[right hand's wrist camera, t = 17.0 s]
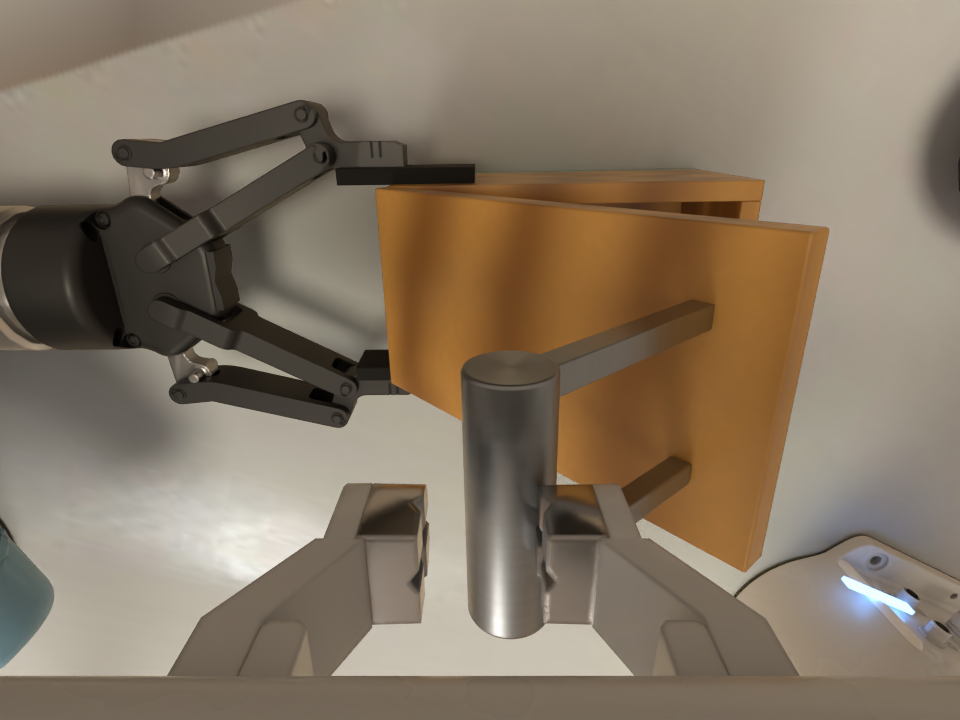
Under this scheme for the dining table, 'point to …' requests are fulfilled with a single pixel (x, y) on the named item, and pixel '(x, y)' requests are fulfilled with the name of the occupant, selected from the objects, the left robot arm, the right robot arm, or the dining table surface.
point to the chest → (624, 190)
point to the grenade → (959, 173)
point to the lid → (598, 365)
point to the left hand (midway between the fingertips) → (476, 274)
